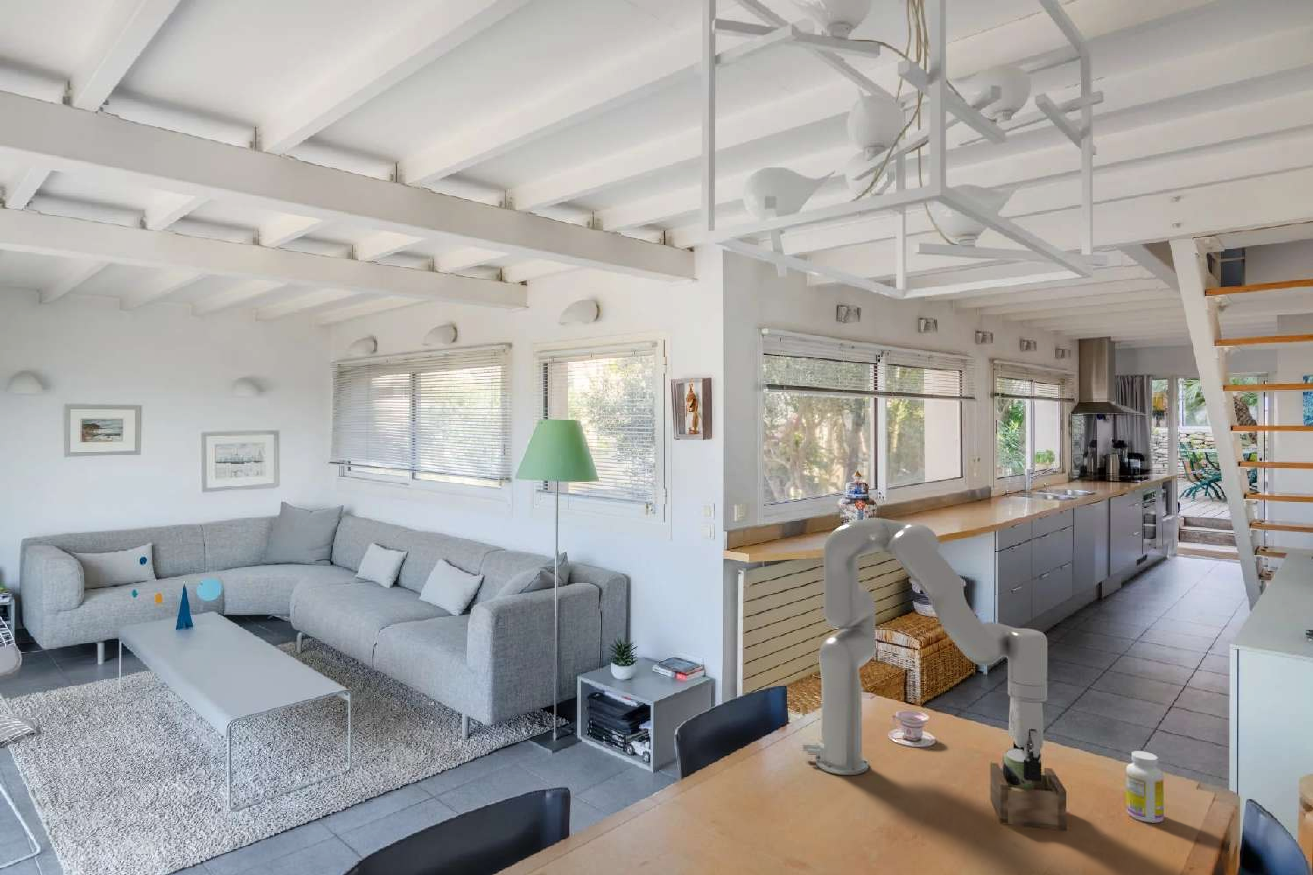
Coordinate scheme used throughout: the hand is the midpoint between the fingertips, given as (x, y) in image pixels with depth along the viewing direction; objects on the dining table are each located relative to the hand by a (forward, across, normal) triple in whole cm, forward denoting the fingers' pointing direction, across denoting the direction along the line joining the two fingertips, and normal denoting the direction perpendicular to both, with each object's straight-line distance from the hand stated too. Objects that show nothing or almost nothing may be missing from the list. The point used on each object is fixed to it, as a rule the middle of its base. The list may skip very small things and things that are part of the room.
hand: (1026, 770), depth 163 cm
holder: (+9, 0, 0) cm, 9 cm away
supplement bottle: (+10, -5, +24) cm, 26 cm away
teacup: (+10, -37, -20) cm, 43 cm away
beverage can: (+8, 0, -1) cm, 9 cm away
